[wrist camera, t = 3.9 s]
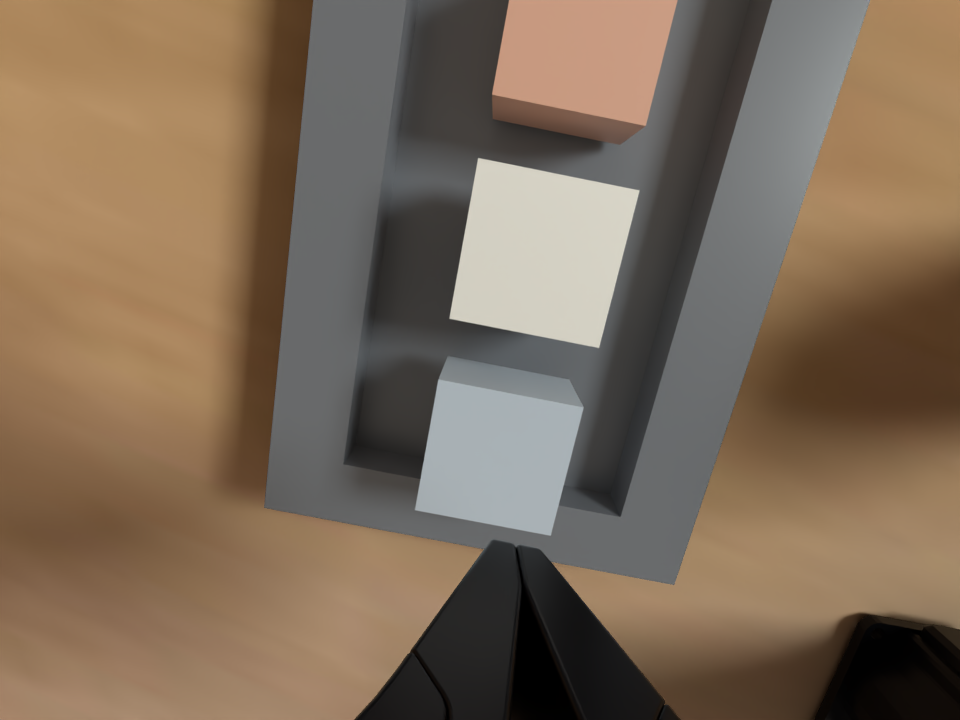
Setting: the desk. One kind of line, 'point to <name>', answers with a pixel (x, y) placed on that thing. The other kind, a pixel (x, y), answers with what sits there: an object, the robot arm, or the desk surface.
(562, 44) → the key terracotta
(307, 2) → the desk surface
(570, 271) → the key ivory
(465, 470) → the key slate
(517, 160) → the keypad board
